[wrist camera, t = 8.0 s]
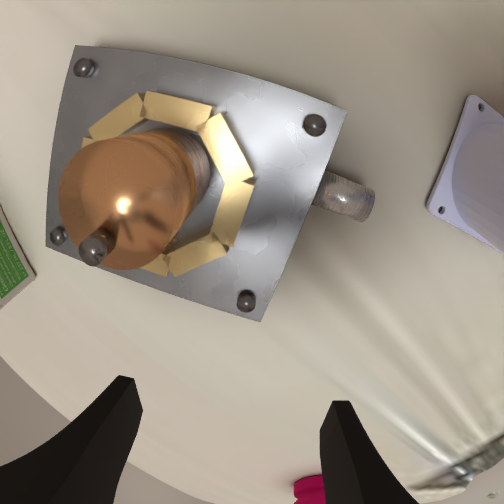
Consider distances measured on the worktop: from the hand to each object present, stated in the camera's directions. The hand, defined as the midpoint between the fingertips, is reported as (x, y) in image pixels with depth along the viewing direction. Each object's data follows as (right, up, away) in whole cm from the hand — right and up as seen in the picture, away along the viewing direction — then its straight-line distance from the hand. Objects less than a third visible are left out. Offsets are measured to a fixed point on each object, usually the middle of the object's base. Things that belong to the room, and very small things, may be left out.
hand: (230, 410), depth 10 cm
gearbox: (-2, +10, +7) cm, 12 cm away
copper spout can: (-3, +9, +4) cm, 11 cm away
